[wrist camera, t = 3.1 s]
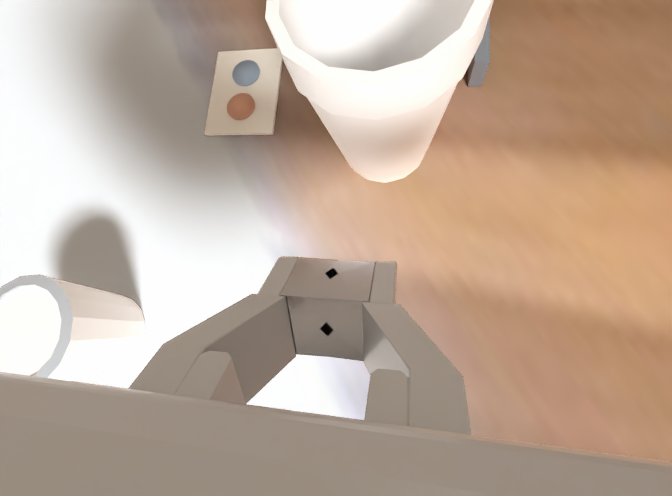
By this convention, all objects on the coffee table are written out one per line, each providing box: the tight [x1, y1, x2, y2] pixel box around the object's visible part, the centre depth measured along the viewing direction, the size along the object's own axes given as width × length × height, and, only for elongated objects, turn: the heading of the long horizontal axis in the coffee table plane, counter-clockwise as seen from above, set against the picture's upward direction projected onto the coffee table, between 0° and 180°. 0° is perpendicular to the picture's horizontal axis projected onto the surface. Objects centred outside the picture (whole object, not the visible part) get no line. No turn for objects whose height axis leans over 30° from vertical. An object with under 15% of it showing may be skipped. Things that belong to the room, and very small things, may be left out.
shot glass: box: [0, 275, 145, 381], centre depth 24 cm, size 7×7×7 cm
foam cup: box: [265, 0, 494, 183], centre depth 21 cm, size 10×9×13 cm
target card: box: [204, 48, 283, 136], centre depth 30 cm, size 8×6×1 cm
